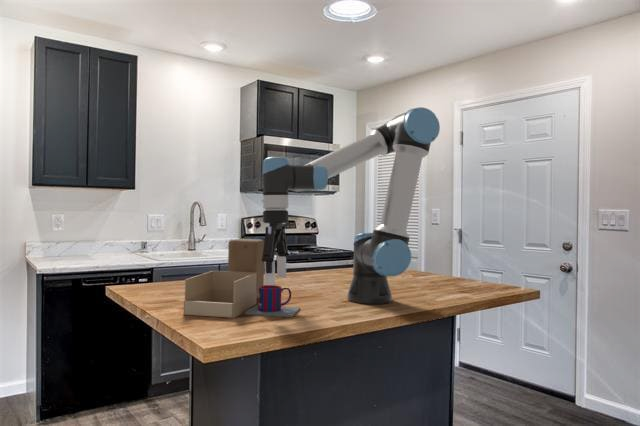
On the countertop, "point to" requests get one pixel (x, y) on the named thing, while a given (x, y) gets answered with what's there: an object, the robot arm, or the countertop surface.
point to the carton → (220, 293)
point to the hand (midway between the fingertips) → (276, 280)
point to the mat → (282, 313)
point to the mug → (271, 298)
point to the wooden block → (247, 258)
